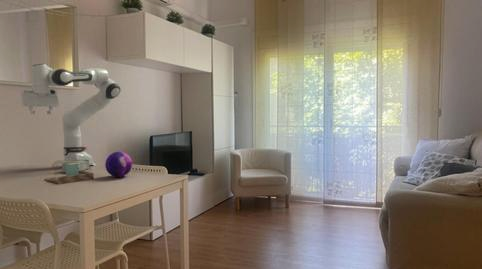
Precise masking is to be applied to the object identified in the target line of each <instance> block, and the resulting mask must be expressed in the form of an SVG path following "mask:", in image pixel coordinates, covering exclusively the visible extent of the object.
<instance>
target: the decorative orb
mask: <svg viewBox="0 0 482 269" xmlns="http://www.w3.org/2000/svg"><path fill="white" fill-rule="evenodd" d="M104 164H105V166H104V167H105V170H106V172H107V173H108V174H109V175H111V176H112V177H115V178H121V177H125V176H127V175H128V174H129V173H130V172H131V170H132V167H133V160H132V158H131V157H130V155H129V154H127V153H126V152H123V151H114V152H112V153H110V155H108V156H107V158H106V159H105V163H104Z"/></svg>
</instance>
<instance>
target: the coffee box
mask: <svg viewBox="0 0 482 269" xmlns="http://www.w3.org/2000/svg"><path fill="white" fill-rule="evenodd" d="M69 163H78V170H81V171H85V170H89V168H90V167H89V160H73V161H69V162H64V163H63V162H62V163H61V170H62V171H61V173H63V174H66V164H69Z"/></svg>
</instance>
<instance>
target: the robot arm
mask: <svg viewBox="0 0 482 269" xmlns="http://www.w3.org/2000/svg"><path fill="white" fill-rule="evenodd" d="M30 80H31V90H27V89H25V90H23V91H21V105H22V107H28V110H29V112H30V115H35V114H36V112H35V110H33V107H48V111H46V114H47V115H52V110H53V109H54V107H58V106H59V102H60V100H59V97H58V95H57V94H58V91H57V90H55V89H52V88H49V86H50V87H64V86H68V85H70V84H72V83H78V82H80V83H82V84H84V85H90V86H91V85H94V87H96V88H97V89H98V90H99V91H98V92H97V93H96V94H94V95H92V96H91V97H89V98H87V99H86V100H85V101H82V102H81V103H80V104H78V105H77V106H76V107H75V108H73V109H72V110H68V111H65V112H64V113H63V114H62V117H61V122H62V129H63V130H62V132H63V161H62V163H64V162H69V161H73V160H89V163H93V165H94V166H98V165H97V163H95V162H94V158H93V156H92V155H90V154H89V153H87V152H86V151H87V150H88V148H87V146H82V143H83V142H82V138H83V137H82V131H81V125H82V124H83V123H85V122H87V121H88V120H89V119H90V118H91V117H92V116H93V115H96V114H97V113H98V112H100V111H101V110H103V109H104V108H106V107H107V106H108V105H109V104H110V102H111V101H112V100H113V99H115V98H117V97H118V96H119V95H120V93H121V86H120V85H119V84H118V83H117V82H115V81H114V80H113V79H111V78H110V75H109V72H108V70H106V69H105V68H100V67H99V68H98V67H87V68H83V69H81V70H80V71H70V70H67V69H63V68H59V69H53V68H51V67H49V66H48V65H47V64H46V63H39V64H33V65H32V67H31V70H30ZM94 166H93V167H94Z"/></svg>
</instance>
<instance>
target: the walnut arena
mask: <svg viewBox="0 0 482 269" xmlns="http://www.w3.org/2000/svg"><path fill="white" fill-rule="evenodd" d="M78 172H79V175H72V176H66V175H60V176H52V177H46V178H44V181H46V182H49V183H53V184H57V185H62V184H70V183H77V182H83V181H84V182H85V181H90V180H94V179H95V177H94V175H95V173H94V172H90V171H85V170H83V171H81V170H78Z"/></svg>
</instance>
